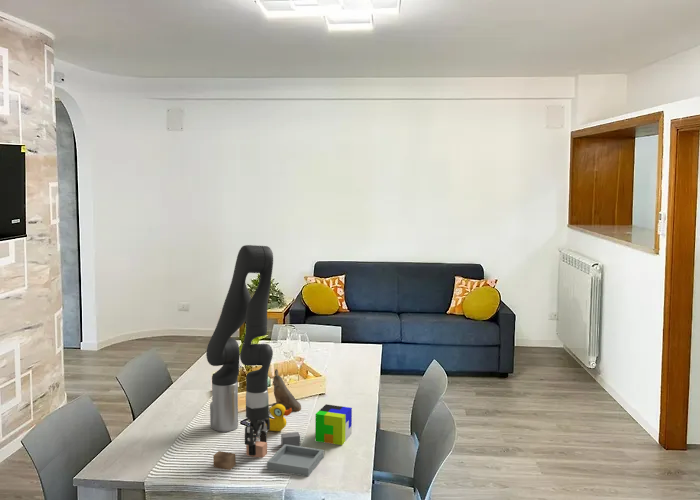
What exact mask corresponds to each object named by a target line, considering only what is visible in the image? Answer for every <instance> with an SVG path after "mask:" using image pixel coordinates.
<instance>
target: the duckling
mask: <svg viewBox="0 0 700 500" xmlns="http://www.w3.org/2000/svg"><path fill="white" fill-rule="evenodd" d="M269 414H270V416H271V417H273V418H270V417H269V420H270V429H269V430H268V431H270V432H280V431H282V430H284V429H285V427H286V426H287V419H286V418H285V417H287V416H290V415H291V414H292V409H291V408H290V409H289V410H286V409H285V407H284V406H283V405H282V404H276V405H274V406H273V407H269ZM266 426H267V424H266Z"/></svg>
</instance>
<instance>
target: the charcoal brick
mask: <svg viewBox="0 0 700 500" xmlns="http://www.w3.org/2000/svg"><path fill="white" fill-rule="evenodd" d="M280 444H281V447H282V446H283V445H284V444H288V445H294V446H301V435H300V432H299V431H295V432H283V433H280Z"/></svg>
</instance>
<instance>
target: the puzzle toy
mask: <svg viewBox="0 0 700 500" xmlns="http://www.w3.org/2000/svg"><path fill="white" fill-rule="evenodd" d="M352 409H353V407H348V406H347V407H346V406H341V405H333V404H325V405H324V406H322V407H321V408H320V409H319V410H318V411H317V412H316V413H315V422H314V423H315V433H314V434H315V442H319V443H324V442H325V443H324V444H332V445H338V446H343V445H344V444H345V443H346V442H347V440H348V439H349V438H350V437H351V436H352V433H353V432H352V430H353V429H352V428H353V427H352V426H353V425H352V423H353V422H352V419H353V418H352V415H353V413H352V412H353V410H352ZM344 442H345V443H344Z"/></svg>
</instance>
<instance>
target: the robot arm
mask: <svg viewBox="0 0 700 500" xmlns="http://www.w3.org/2000/svg"><path fill="white" fill-rule="evenodd" d="M273 267H274V253H273V251H272V248H271V247H270V246H267V245H255V244H253V245H252V244H245V245H242V246H241V247H240V249H239V251H238V254H237V255H236V261H235V264H234V270H233V272H232V273H233V274H232V279H231V282H230V285H229V288H228V291H227V294H226V297H225V298H224V301H223V302H224V303H223V305H222V308H221V311H220V315H219V318H218V321H217V324H216V326H215V329H214V331H213V333H212V334H211V337H210V339H209V342H208V344H207V347H206V354H205V355H206V360H207V362H208V364H209V365H211V366H213V367H220V366H221V367H220V368H219V369H218V370H216V372H214V373H213V374H212V376H211V397H212V399H211V402H210V403H209V411H210V412H209V415H210V416H209V417H210V420H209V421H210V422H209V423H210V425H209V426H210V429H213V430H214V431H216V432H231V431H234V430H236V429H237V428H239V404H238V403H239V399H238V398H239V397H238V396H239V395H238V394H239V391H238V389H239V388H238V384H239V383H238V382H239V381H238V377H239V375H240V362H241V364H242V365H244V366H246V367H247V366H249V367H250V366H252V367H253V366H254V367H255V366H261V367H260V368H259V369H256V370H253V371H250V372H248V373H247V374H246V377H245V383H246V385H245V386H246V387H245V389H246V392H245V418H246V419H248V420H249V425H248V426H246V425H245V427H244V445H245V446H246V445H249V455H251V456H250V457H254V456H255V455H256V441H258V440H257V439H258V438H259V441H261V442H267V443H268V441H267V438H268V437H267V435H268V431H270V430H269V429H270V420H269V418H270V411H269V409H270V405H269V402H270V401H269V398H270V397H269V389H268V387H269V386H268V383H269V382H268V378H269V372H270V371H269V370H270V366H271V363H272V360H273V354H274V353H273V352H274V351H273V348H272V346H271V345H270V344H268V343H252V341H254V339H256V338H259V337H265V336H266V335H267V333H268V303H269V297H270V290H271V289H270V288H271V284H272V276H273ZM248 274H259V280H258V285H257V288H256V289H255V291H254V294H253V295H252V296H251V294H250V292H249V288H248V287H247V281H246V280H247V276H248ZM244 323H245V335H244V339H243V343H242V346H241V349H240V346H239V343H238V341H237V340H236V338H233V337H231V336H233V335H234V334H235V333H236V332H237V331H238V330H239V329H240V328H241V327H242V326H243V325H244ZM266 424H267V426H266Z"/></svg>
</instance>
